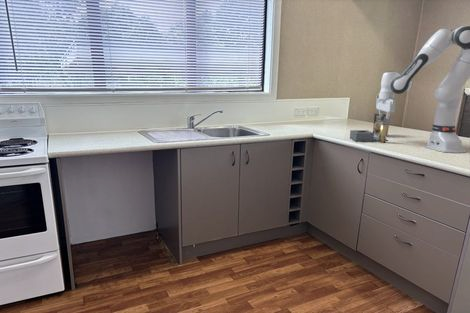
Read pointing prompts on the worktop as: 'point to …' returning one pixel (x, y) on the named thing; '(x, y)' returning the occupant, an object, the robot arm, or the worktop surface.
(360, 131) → the chuck block
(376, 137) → the mat
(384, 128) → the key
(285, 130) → the worktop surface
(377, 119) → the coffee box
